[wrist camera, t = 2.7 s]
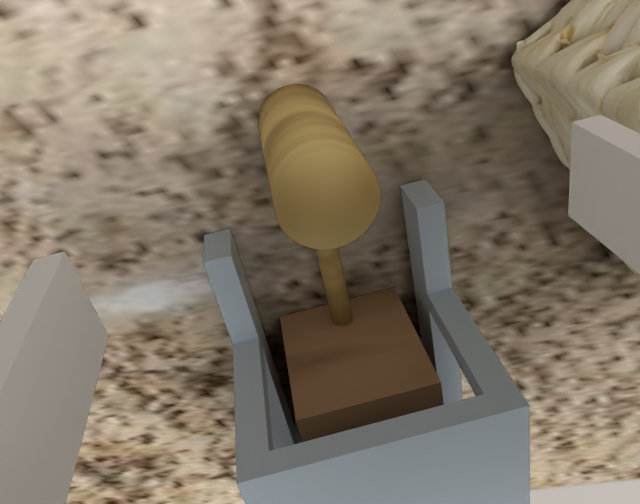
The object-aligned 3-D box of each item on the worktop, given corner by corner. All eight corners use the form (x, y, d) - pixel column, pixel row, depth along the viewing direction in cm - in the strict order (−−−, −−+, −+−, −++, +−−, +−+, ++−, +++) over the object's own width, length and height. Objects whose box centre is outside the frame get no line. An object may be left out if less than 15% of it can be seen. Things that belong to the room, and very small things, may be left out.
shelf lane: (449, 396, 33) (530, 560, 24) (278, 442, 32) (298, 624, 24) (425, 179, 26) (528, 302, 17) (204, 234, 25) (195, 389, 17)
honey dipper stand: (407, 372, 31) (460, 495, 25) (304, 399, 31) (328, 531, 24) (359, 67, 23) (420, 126, 16) (215, 102, 22) (213, 177, 16)
